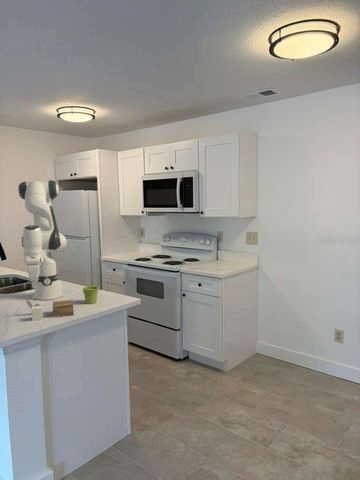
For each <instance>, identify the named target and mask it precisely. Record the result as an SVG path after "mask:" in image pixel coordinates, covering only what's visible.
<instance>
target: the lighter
mask: <svg viewBox="0 0 360 480" xmlns="http://www.w3.org/2000/svg"><path fill="white" fill-rule="evenodd" d="M25 303H26V304H27V305H28V307H29V309H32V307H35V306H42V305H41V304H40V303H35V304H34V305H33V304H32V303H31V301H30V300H29V299H27V300H26V301H25Z"/></svg>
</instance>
